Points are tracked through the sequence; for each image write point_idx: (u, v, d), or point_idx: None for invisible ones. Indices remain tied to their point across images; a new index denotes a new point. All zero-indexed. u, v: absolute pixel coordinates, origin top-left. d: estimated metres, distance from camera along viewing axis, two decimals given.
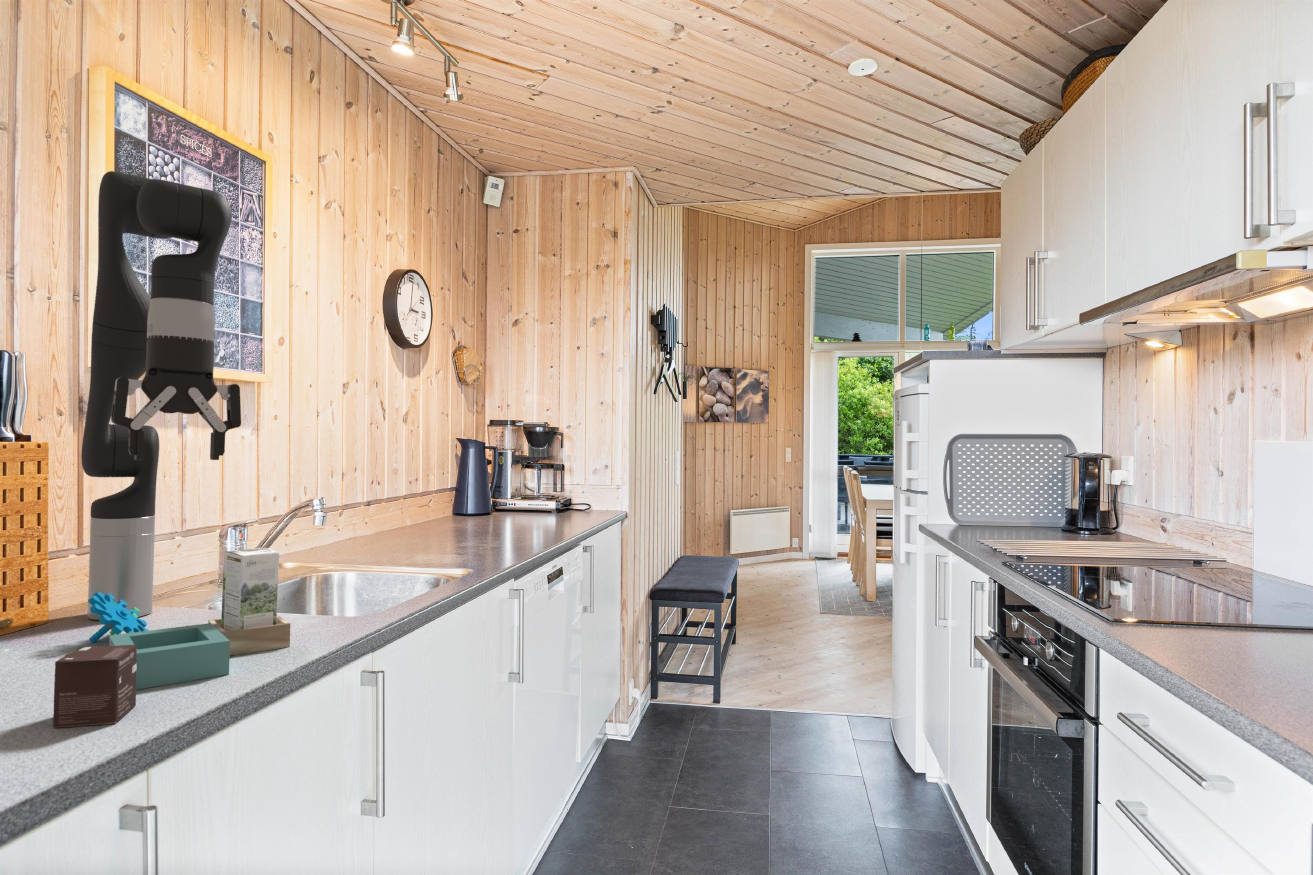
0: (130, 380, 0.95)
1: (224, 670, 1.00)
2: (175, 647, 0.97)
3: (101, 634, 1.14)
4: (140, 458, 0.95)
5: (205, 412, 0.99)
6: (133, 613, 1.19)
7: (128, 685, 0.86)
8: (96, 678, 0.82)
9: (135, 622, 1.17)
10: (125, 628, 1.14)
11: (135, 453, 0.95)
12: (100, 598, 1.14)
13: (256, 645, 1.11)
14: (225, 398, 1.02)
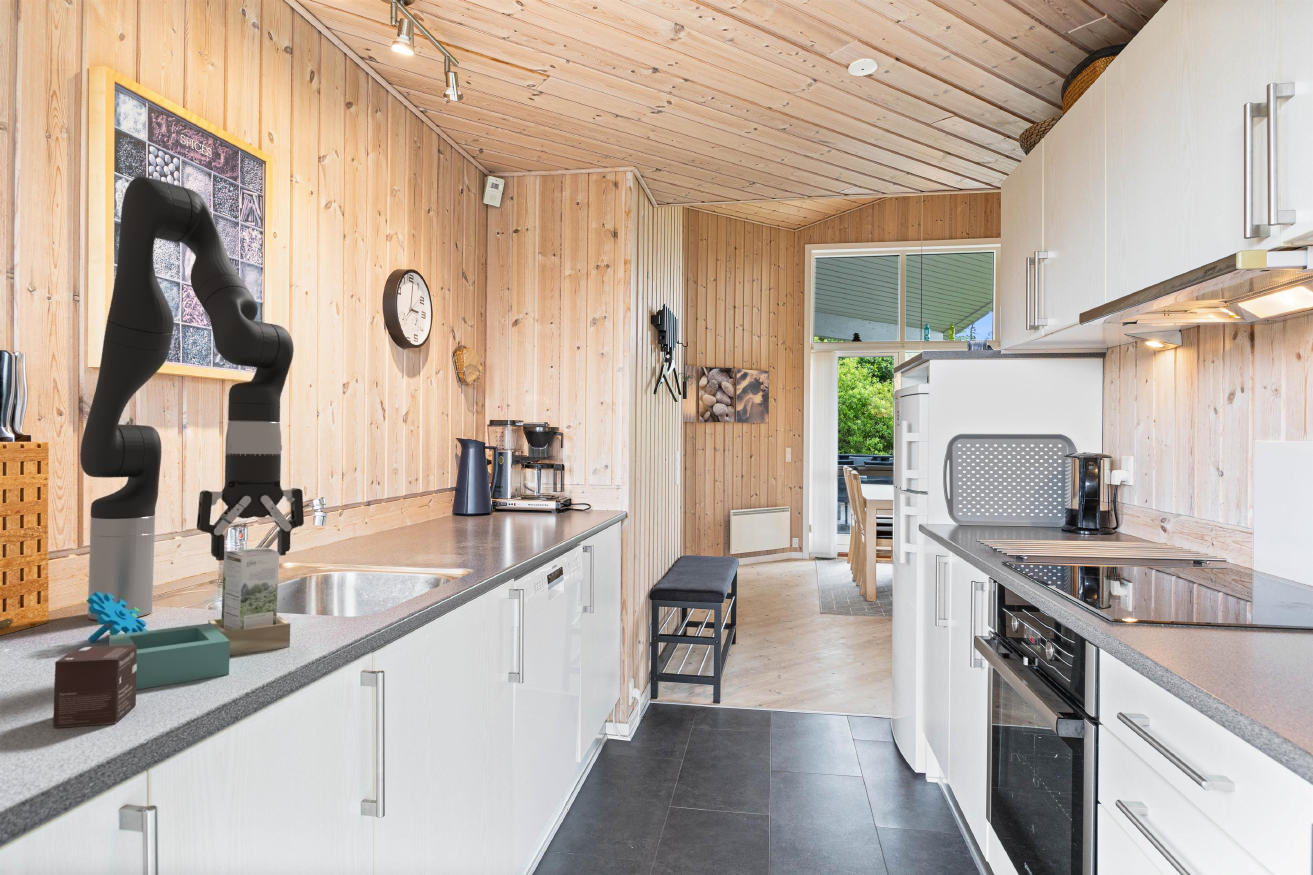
0: (213, 492, 1.11)
1: (224, 670, 1.00)
2: (175, 647, 0.97)
3: (100, 634, 1.14)
4: (221, 559, 1.11)
5: (274, 515, 1.15)
6: (132, 613, 1.19)
7: (128, 685, 0.86)
8: (96, 678, 0.82)
9: (134, 622, 1.17)
10: (123, 628, 1.14)
11: (217, 555, 1.11)
12: (99, 598, 1.14)
13: (256, 645, 1.11)
14: (290, 501, 1.18)
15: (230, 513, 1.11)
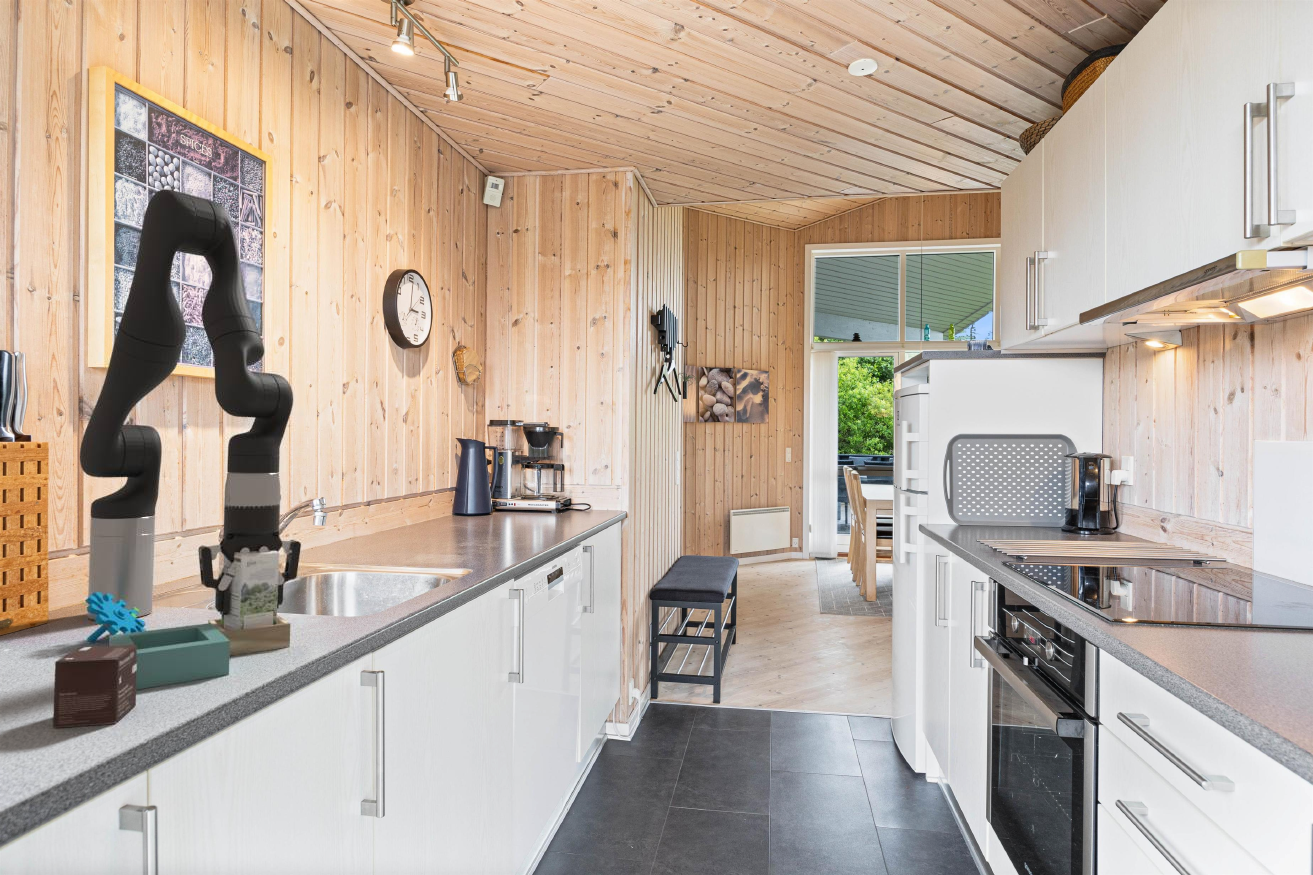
0: (211, 547, 1.11)
1: (224, 670, 1.00)
2: (175, 647, 0.97)
3: (99, 634, 1.14)
4: (226, 614, 1.12)
5: None
6: (132, 613, 1.18)
7: (128, 685, 0.86)
8: (96, 678, 0.82)
9: (133, 622, 1.17)
10: (122, 628, 1.13)
11: (221, 610, 1.12)
12: (98, 598, 1.14)
13: (256, 645, 1.11)
14: (287, 553, 1.18)
15: (231, 567, 1.12)
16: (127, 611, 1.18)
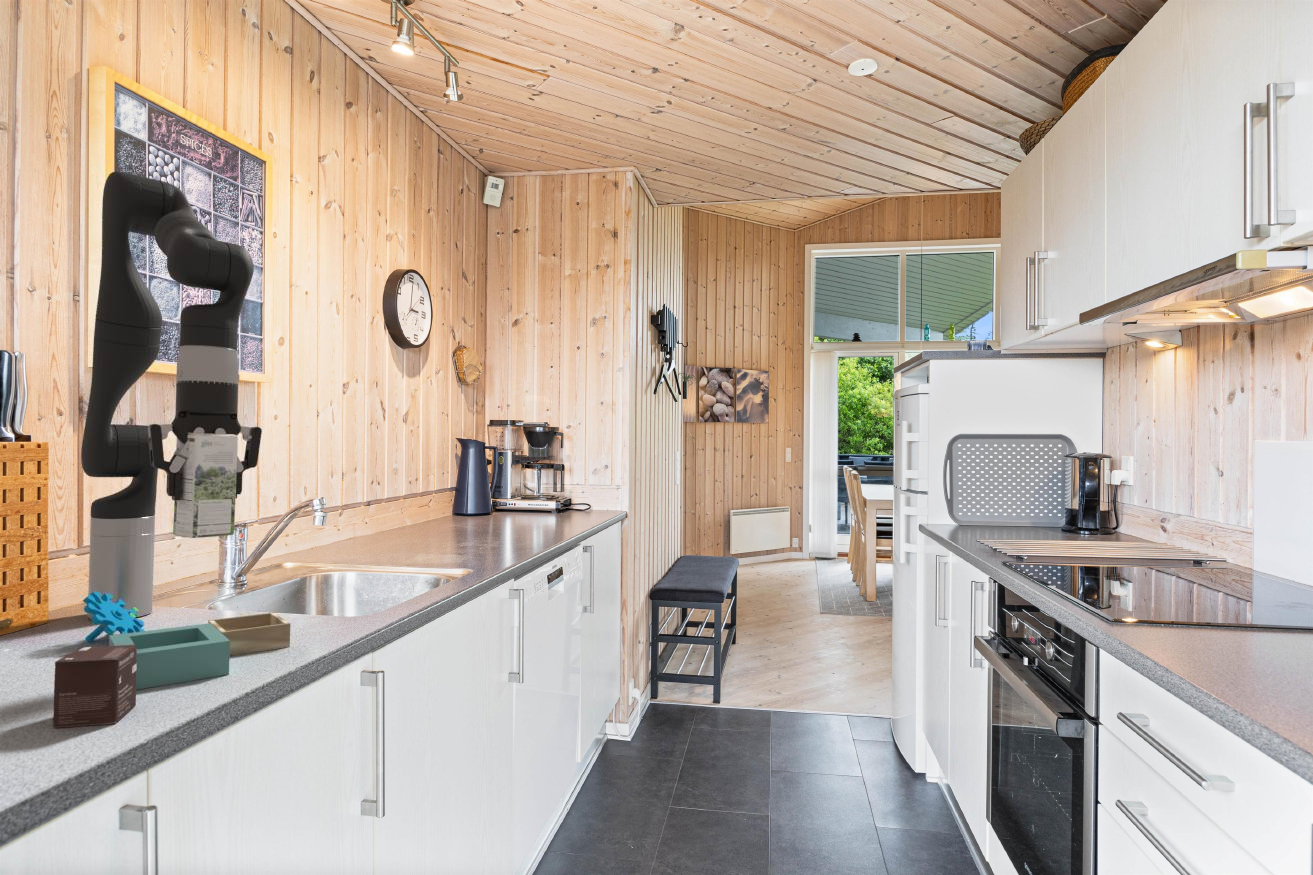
0: (161, 425, 1.02)
1: (224, 670, 1.00)
2: (175, 647, 0.97)
3: (97, 634, 1.14)
4: (178, 499, 1.03)
5: None
6: (131, 613, 1.18)
7: (128, 685, 0.86)
8: (96, 678, 0.82)
9: (131, 622, 1.17)
10: (119, 628, 1.13)
11: (173, 494, 1.02)
12: (96, 598, 1.15)
13: (256, 645, 1.11)
14: (246, 439, 1.09)
15: (184, 448, 1.03)
16: (126, 611, 1.18)
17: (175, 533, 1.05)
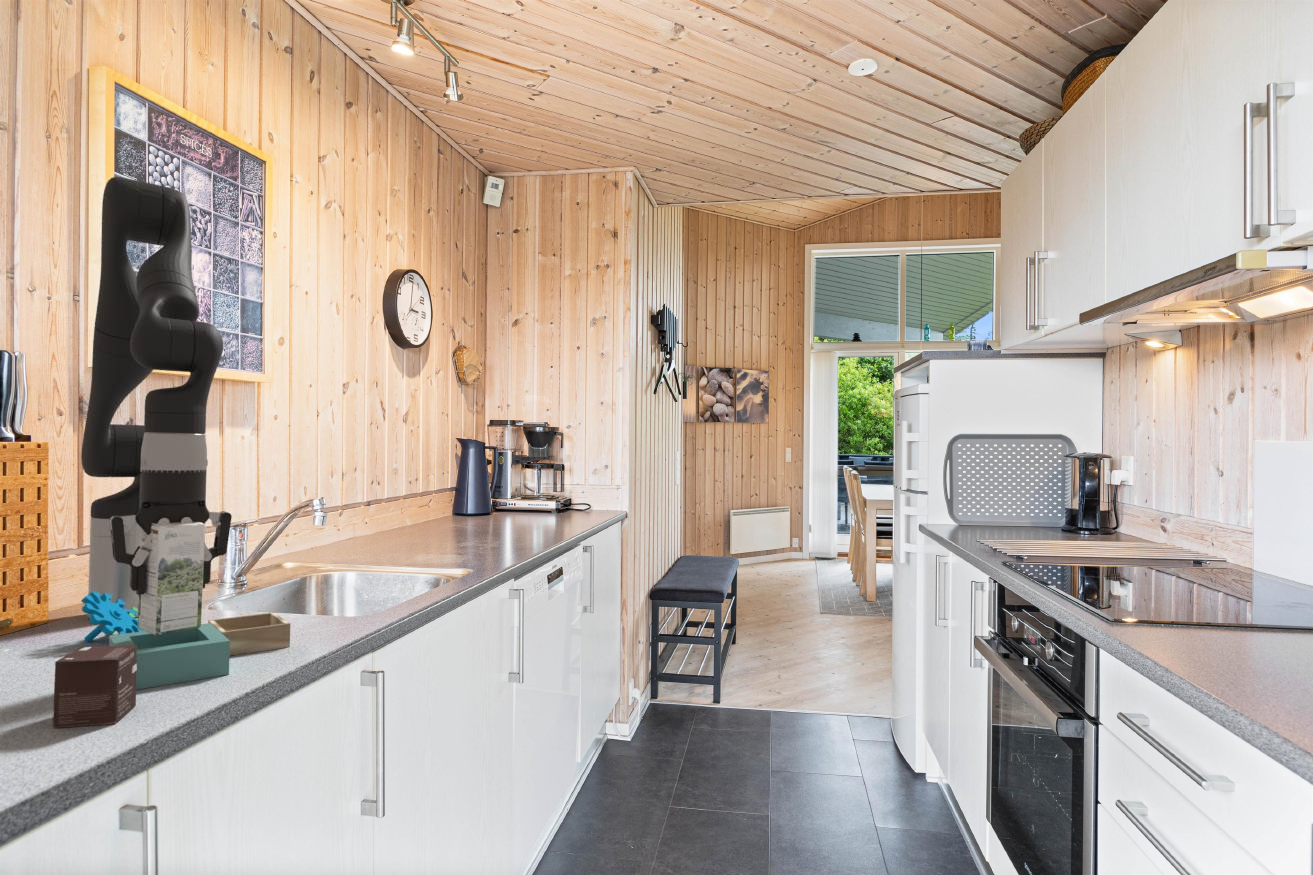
0: (124, 517, 0.97)
1: (224, 670, 1.00)
2: (175, 647, 0.97)
3: (95, 633, 1.14)
4: (141, 593, 0.98)
5: None
6: (130, 613, 1.18)
7: (128, 685, 0.86)
8: (96, 678, 0.82)
9: (130, 622, 1.17)
10: (117, 628, 1.13)
11: (136, 588, 0.98)
12: (95, 597, 1.15)
13: (256, 645, 1.11)
14: (215, 525, 1.04)
15: (147, 540, 0.98)
16: (125, 611, 1.18)
17: (139, 627, 1.00)
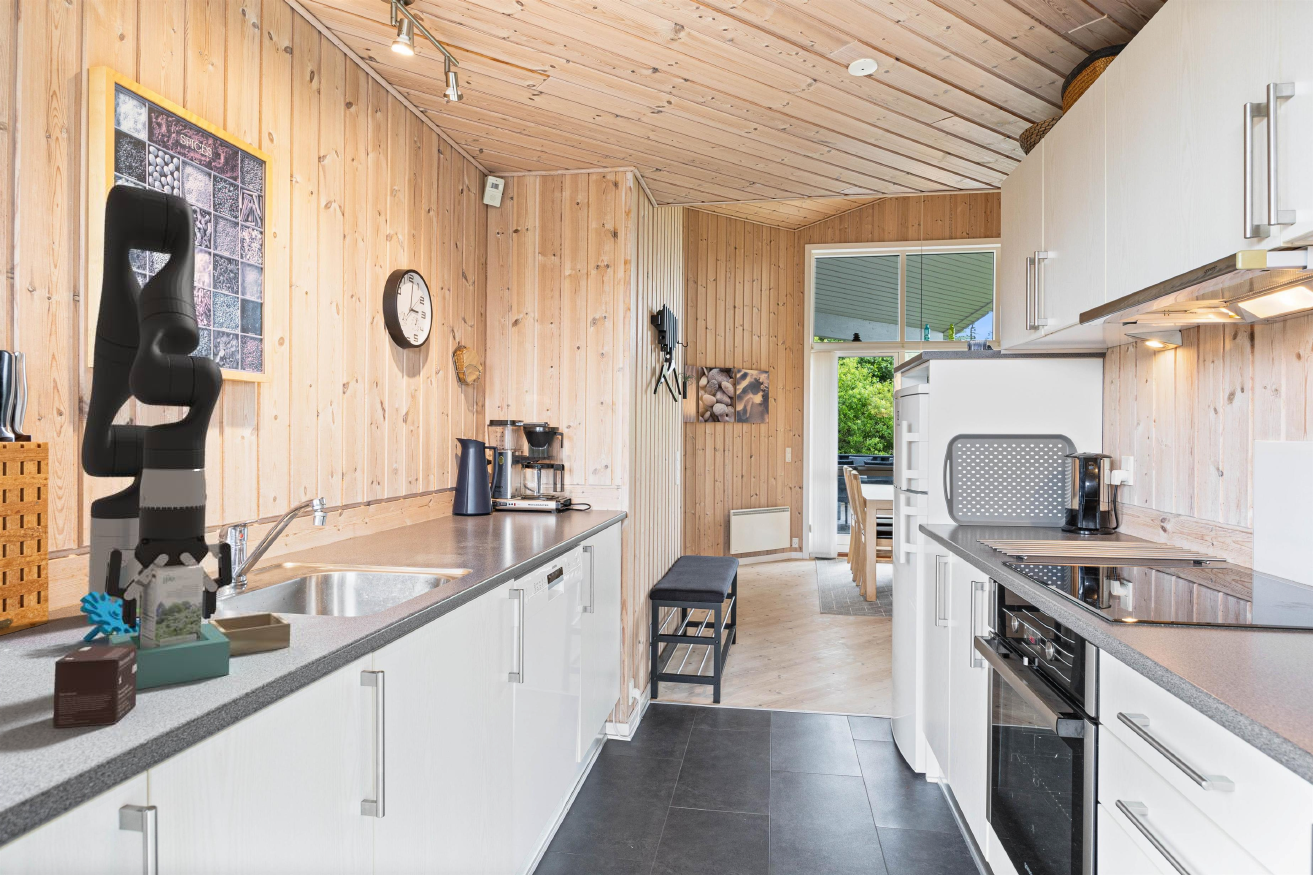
0: (123, 551, 0.97)
1: (224, 670, 1.00)
2: (175, 647, 0.97)
3: (94, 633, 1.14)
4: (133, 626, 0.98)
5: None
6: None
7: (128, 685, 0.86)
8: (96, 678, 0.82)
9: None
10: (115, 628, 1.13)
11: (128, 622, 0.97)
12: (94, 597, 1.15)
13: (256, 645, 1.11)
14: (216, 557, 1.04)
15: (143, 574, 0.98)
16: None
17: None
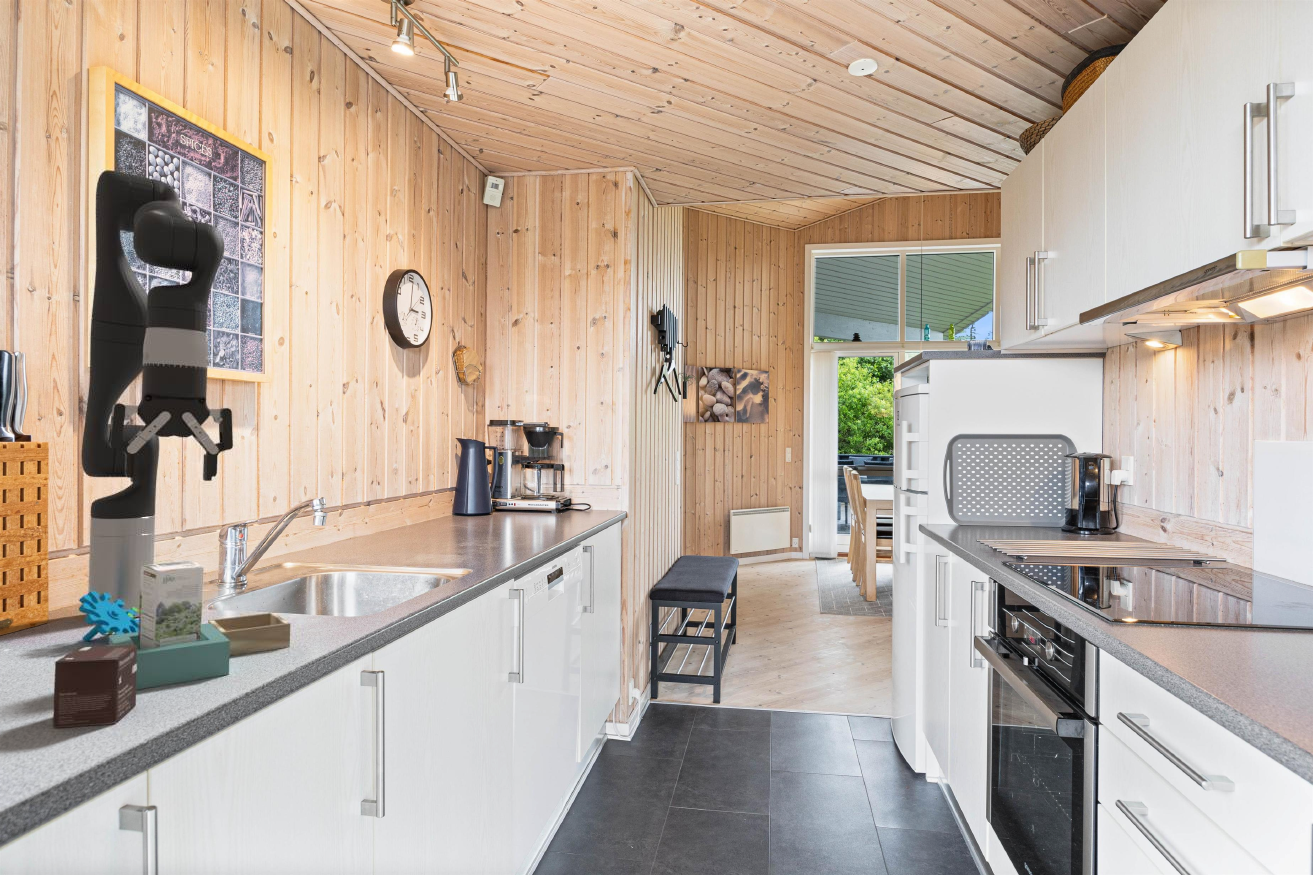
0: (126, 406, 1.00)
1: (224, 670, 1.00)
2: (175, 647, 0.97)
3: (93, 633, 1.14)
4: (136, 480, 1.00)
5: (198, 436, 1.04)
6: (129, 613, 1.19)
7: (128, 685, 0.86)
8: (96, 678, 0.82)
9: (127, 622, 1.16)
10: (114, 628, 1.13)
11: (131, 476, 1.00)
12: (93, 597, 1.15)
13: (256, 645, 1.11)
14: (217, 421, 1.07)
15: (146, 430, 1.00)
16: (123, 611, 1.18)
17: None
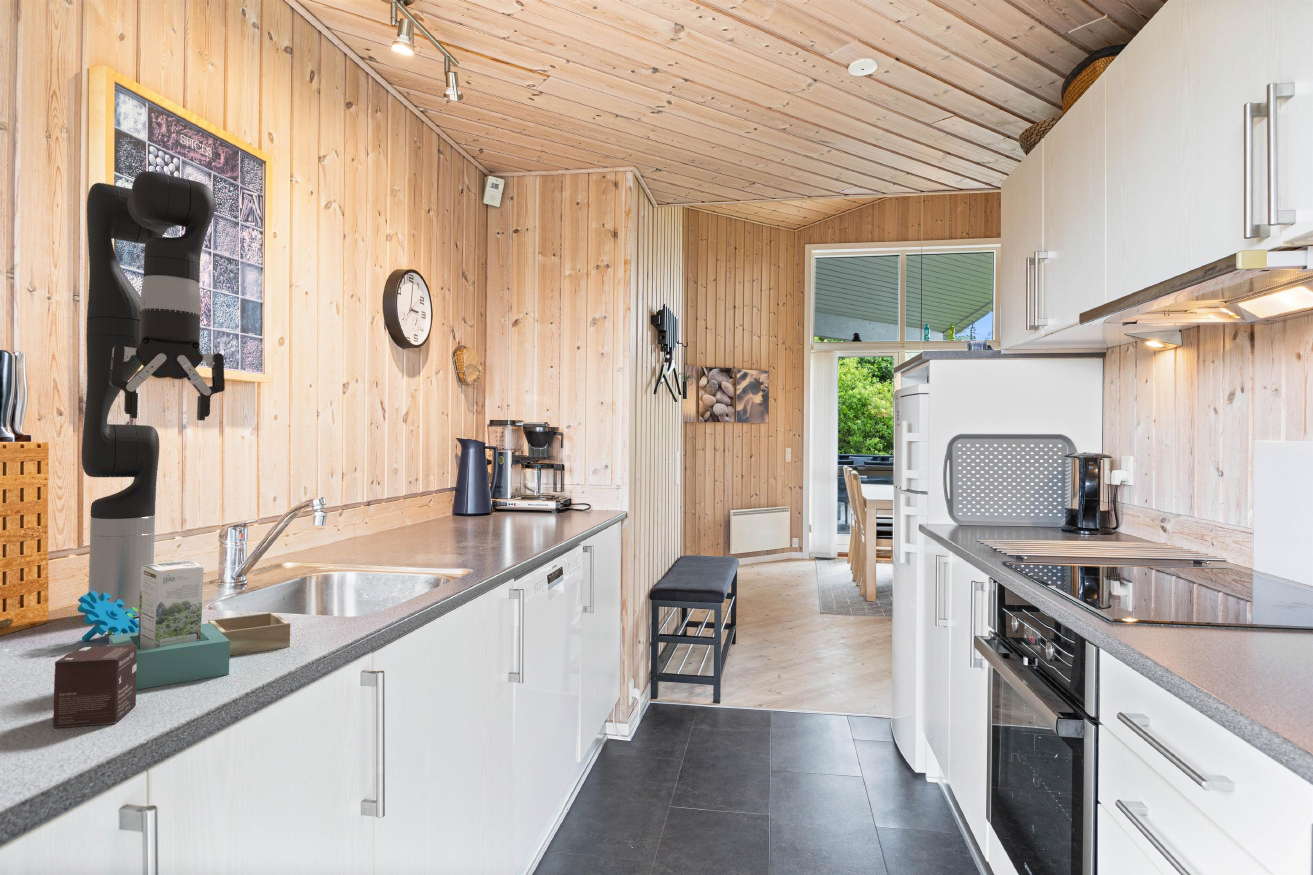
0: (126, 348, 1.08)
1: (224, 670, 1.00)
2: (175, 647, 0.97)
3: (93, 633, 1.14)
4: (135, 416, 1.08)
5: (192, 377, 1.12)
6: (128, 613, 1.19)
7: (128, 685, 0.86)
8: (96, 678, 0.82)
9: (127, 622, 1.16)
10: (112, 628, 1.13)
11: (130, 412, 1.08)
12: (93, 597, 1.15)
13: (256, 645, 1.11)
14: (210, 366, 1.15)
15: (144, 370, 1.08)
16: (123, 611, 1.18)
17: None
